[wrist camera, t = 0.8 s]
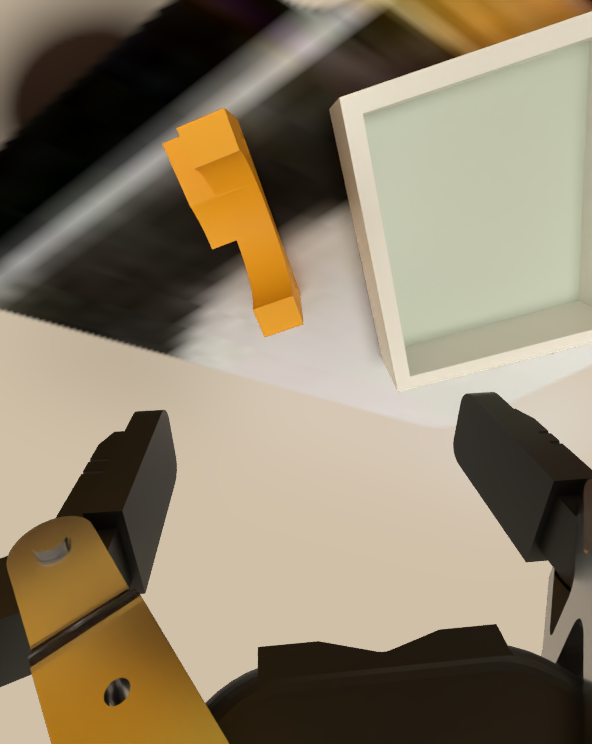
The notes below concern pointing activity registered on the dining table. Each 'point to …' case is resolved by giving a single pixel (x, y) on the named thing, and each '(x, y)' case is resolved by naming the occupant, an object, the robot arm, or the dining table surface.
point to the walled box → (476, 204)
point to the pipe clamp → (236, 212)
